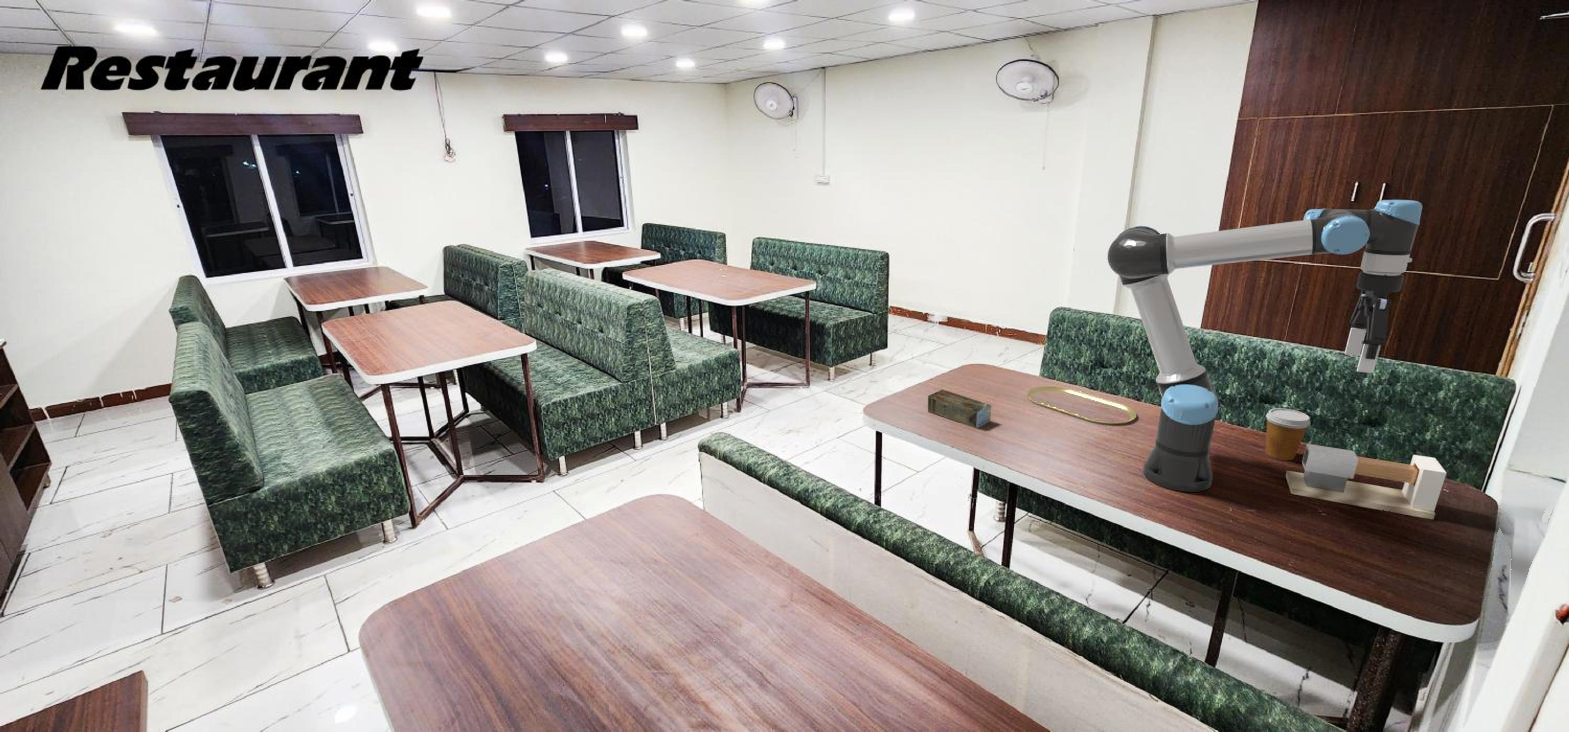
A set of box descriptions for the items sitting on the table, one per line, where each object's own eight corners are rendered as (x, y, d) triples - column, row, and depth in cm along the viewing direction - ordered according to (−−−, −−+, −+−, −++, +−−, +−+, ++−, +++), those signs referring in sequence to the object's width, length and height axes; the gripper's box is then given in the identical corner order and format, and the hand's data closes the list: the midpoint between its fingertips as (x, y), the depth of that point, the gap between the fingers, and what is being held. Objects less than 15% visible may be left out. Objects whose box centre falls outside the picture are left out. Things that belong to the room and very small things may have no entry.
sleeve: (1301, 485, 157) (1309, 451, 154) (1298, 476, 161) (1306, 443, 158) (1348, 493, 153) (1358, 459, 150) (1344, 484, 157) (1353, 450, 154)
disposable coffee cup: (1309, 464, 170) (1319, 422, 166) (1268, 462, 172) (1277, 420, 168) (1290, 448, 179) (1299, 408, 175) (1251, 446, 180) (1260, 406, 177)
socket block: (1411, 507, 146) (1423, 469, 143) (1402, 491, 153) (1413, 454, 150) (1433, 511, 144) (1446, 472, 141) (1423, 495, 151) (1434, 457, 148)
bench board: (1291, 493, 156) (1292, 488, 156) (1285, 475, 164) (1287, 470, 164) (1433, 519, 144) (1435, 513, 144) (1419, 498, 152) (1421, 493, 152)
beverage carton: (976, 429, 198) (977, 409, 196) (926, 412, 212) (926, 393, 210) (991, 422, 203) (992, 402, 201) (941, 406, 217) (941, 387, 215)
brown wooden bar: (1338, 471, 153) (1341, 459, 152) (1335, 465, 156) (1338, 453, 155) (1425, 485, 146) (1429, 472, 145) (1421, 479, 148) (1425, 466, 147)
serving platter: (1047, 386, 231) (1048, 382, 230) (1147, 416, 204) (1148, 411, 203) (1015, 399, 221) (1015, 395, 220) (1115, 432, 193) (1116, 427, 193)
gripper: (1421, 284, 131) (1394, 382, 138) (1389, 263, 151) (1366, 350, 158) (1373, 281, 135) (1348, 377, 141) (1348, 262, 155) (1327, 346, 162)
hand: (1358, 363), depth 150 cm, fingers open, 13 cm apart
